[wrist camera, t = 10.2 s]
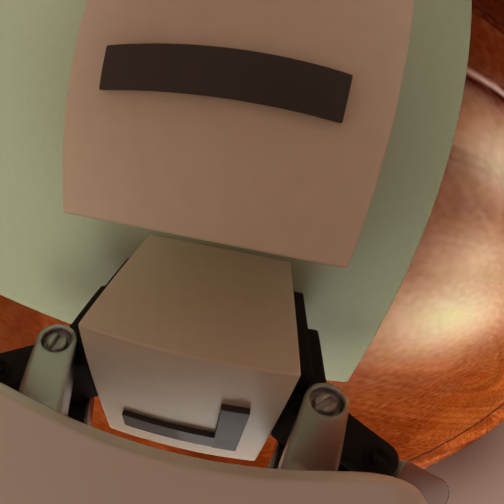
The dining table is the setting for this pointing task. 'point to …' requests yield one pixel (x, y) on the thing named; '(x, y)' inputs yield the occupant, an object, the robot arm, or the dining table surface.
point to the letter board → (130, 239)
